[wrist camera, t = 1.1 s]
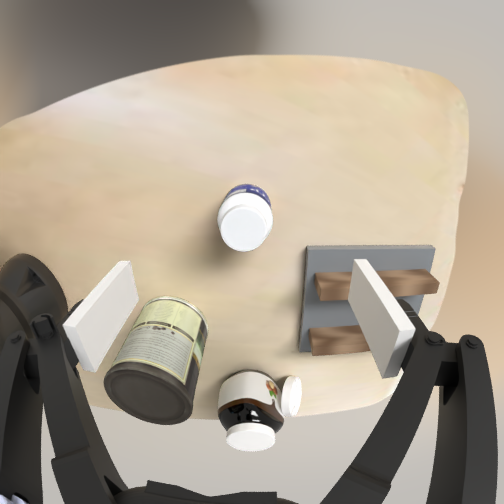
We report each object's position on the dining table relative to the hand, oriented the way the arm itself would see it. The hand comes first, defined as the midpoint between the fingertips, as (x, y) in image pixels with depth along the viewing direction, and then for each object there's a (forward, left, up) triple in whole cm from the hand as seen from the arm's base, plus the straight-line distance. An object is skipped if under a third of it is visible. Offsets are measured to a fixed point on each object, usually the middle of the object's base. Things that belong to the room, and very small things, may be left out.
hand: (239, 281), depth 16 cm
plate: (+16, -13, -18) cm, 27 cm away
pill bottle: (0, 0, -18) cm, 18 cm away
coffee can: (-11, -17, -18) cm, 27 cm away
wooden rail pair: (+16, -13, -16) cm, 26 cm away
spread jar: (+2, -29, -18) cm, 34 cm away
